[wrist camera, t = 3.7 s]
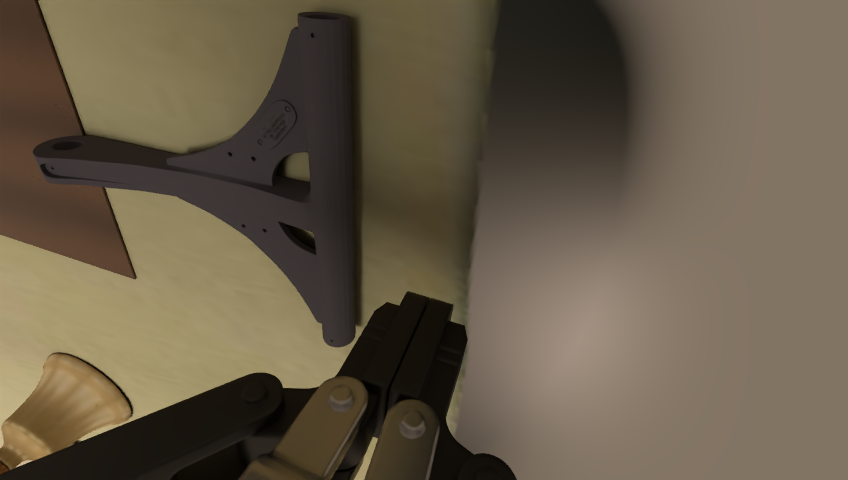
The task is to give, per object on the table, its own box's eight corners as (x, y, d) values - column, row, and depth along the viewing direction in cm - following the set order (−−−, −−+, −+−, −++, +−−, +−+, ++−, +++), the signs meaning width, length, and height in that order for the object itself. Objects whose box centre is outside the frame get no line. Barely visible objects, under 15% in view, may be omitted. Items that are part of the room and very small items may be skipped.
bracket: (9, -30, 17) (-77, -28, 15) (358, 15, 14) (316, 26, 12) (127, 259, 25) (83, 289, 23) (362, 325, 22) (338, 367, 20)
